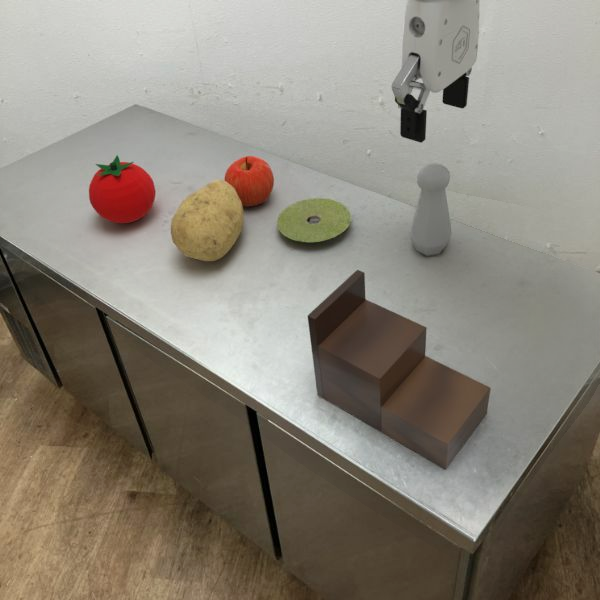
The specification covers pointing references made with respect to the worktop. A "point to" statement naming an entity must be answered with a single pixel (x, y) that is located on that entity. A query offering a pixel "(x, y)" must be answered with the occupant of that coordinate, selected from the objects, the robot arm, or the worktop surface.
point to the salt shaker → (431, 210)
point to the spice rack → (391, 375)
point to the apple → (250, 180)
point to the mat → (314, 220)
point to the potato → (208, 222)
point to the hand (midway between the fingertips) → (434, 121)
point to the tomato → (121, 191)
